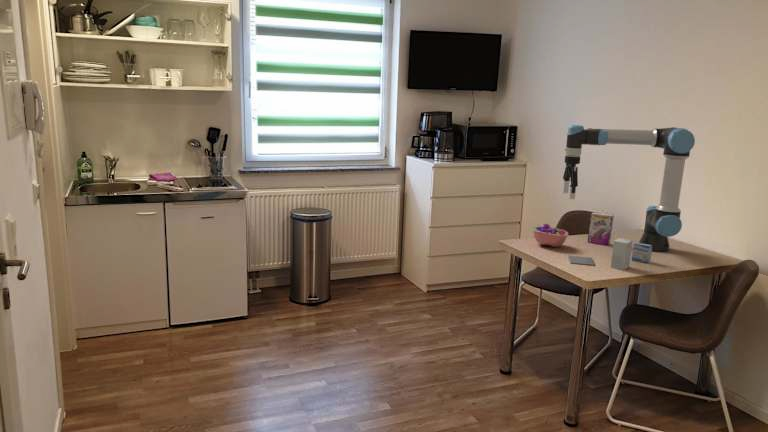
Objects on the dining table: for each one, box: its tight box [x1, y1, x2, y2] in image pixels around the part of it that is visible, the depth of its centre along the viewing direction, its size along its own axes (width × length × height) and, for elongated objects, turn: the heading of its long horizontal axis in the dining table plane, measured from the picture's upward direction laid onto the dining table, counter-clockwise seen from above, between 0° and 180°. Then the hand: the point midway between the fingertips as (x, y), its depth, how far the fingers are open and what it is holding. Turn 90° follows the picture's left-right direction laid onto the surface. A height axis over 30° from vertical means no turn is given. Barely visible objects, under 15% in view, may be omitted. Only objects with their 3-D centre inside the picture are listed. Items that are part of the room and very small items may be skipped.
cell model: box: [532, 223, 569, 248], centre depth 302 cm, size 17×20×11 cm
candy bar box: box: [587, 211, 614, 247], centre depth 311 cm, size 11×5×16 cm, turn 58°
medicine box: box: [630, 241, 653, 264], centre depth 279 cm, size 8×4×9 cm, turn 53°
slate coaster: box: [568, 255, 596, 267], centre depth 276 cm, size 11×13×1 cm
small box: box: [610, 237, 633, 271], centre depth 267 cm, size 8×6×13 cm
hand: (568, 196), depth 297 cm, fingers open, 13 cm apart
